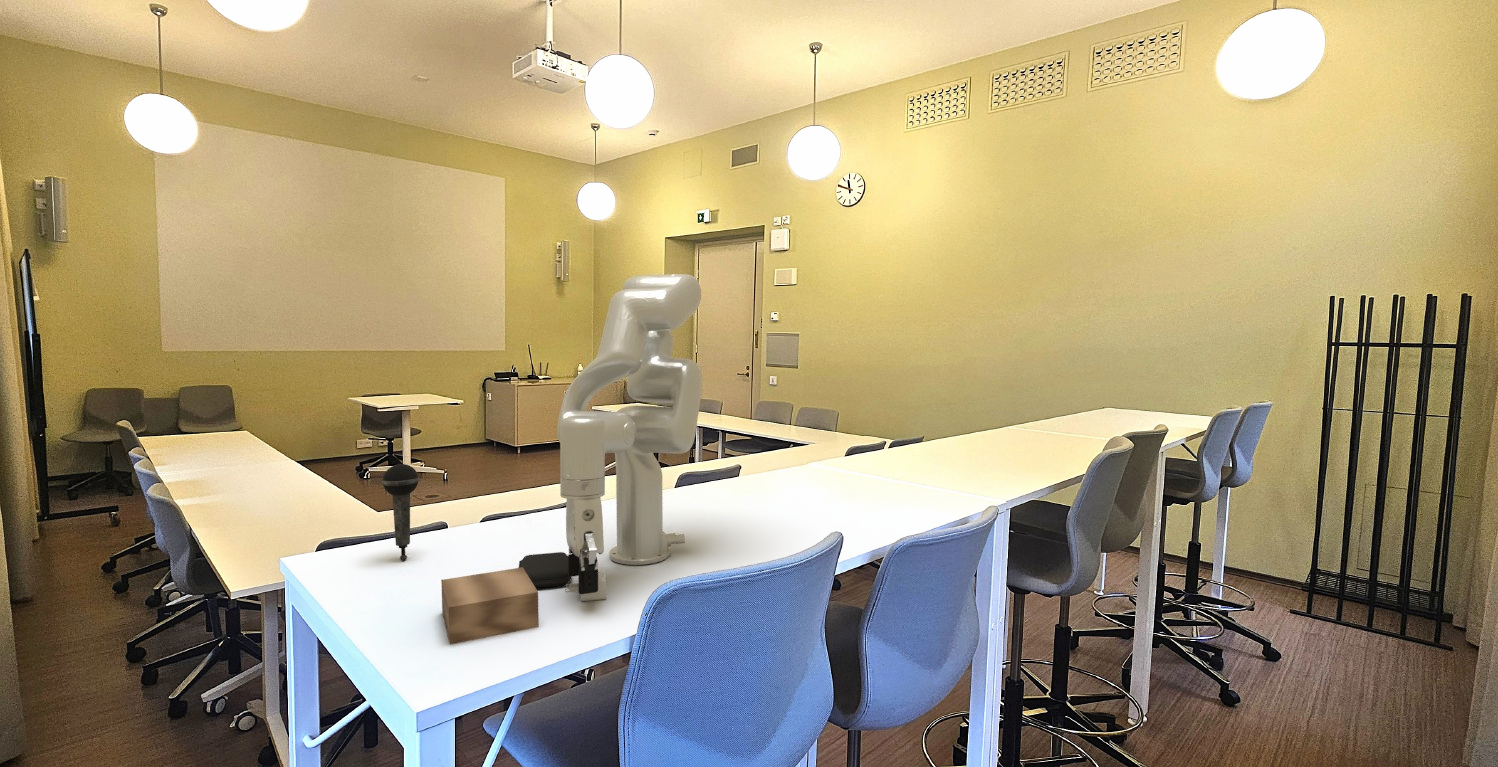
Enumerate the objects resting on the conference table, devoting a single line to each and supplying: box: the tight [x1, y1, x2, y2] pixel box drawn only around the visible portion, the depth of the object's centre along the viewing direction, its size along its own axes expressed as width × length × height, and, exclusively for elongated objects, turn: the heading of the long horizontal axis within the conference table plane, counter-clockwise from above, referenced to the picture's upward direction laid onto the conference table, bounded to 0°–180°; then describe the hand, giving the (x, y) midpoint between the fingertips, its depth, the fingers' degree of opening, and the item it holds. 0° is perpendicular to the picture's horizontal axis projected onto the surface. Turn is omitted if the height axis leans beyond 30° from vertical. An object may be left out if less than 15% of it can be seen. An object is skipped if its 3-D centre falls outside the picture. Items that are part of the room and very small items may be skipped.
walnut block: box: [440, 567, 540, 646], centre depth 109 cm, size 13×13×6 cm
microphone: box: [381, 463, 420, 562], centre depth 137 cm, size 7×7×20 cm
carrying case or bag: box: [518, 551, 572, 590], centre depth 129 cm, size 11×3×15 cm
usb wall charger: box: [564, 571, 607, 602], centre depth 119 cm, size 4×7×4 cm, turn 103°
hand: (582, 583), depth 118 cm, fingers open, 9 cm apart
